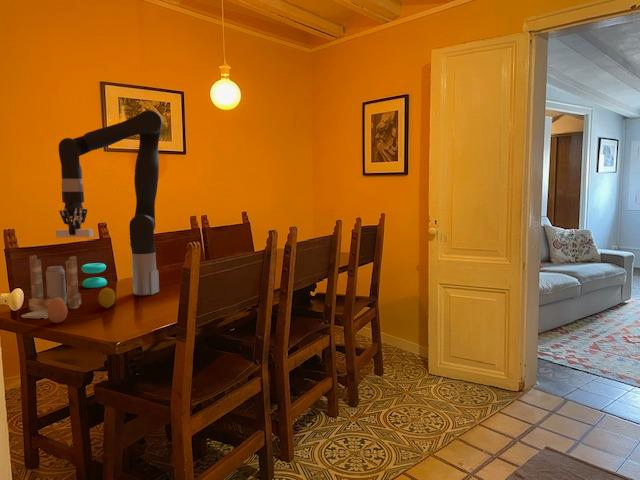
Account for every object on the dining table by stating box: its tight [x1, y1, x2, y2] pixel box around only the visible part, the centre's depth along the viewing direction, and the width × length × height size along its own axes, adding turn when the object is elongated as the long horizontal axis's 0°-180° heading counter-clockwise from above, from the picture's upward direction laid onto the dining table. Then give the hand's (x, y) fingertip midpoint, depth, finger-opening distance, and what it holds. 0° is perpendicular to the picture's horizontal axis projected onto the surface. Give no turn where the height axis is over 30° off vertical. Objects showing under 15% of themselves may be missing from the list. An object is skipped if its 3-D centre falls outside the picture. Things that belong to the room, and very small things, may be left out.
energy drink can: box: [45, 265, 68, 305], centre depth 166 cm, size 6×6×15 cm
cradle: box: [28, 254, 82, 312], centre depth 166 cm, size 17×12×19 cm
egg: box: [47, 298, 69, 324], centre depth 147 cm, size 6×6×8 cm
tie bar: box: [55, 228, 95, 239], centre depth 178 cm, size 14×2×3 cm, turn 82°
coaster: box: [20, 309, 49, 320], centre depth 157 cm, size 9×9×1 cm
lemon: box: [98, 286, 116, 309], centre depth 165 cm, size 6×6×8 cm
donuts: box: [81, 262, 108, 289], centre depth 203 cm, size 10×10×10 cm
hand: (75, 234), depth 178 cm, fingers closed on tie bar, 2 cm apart
